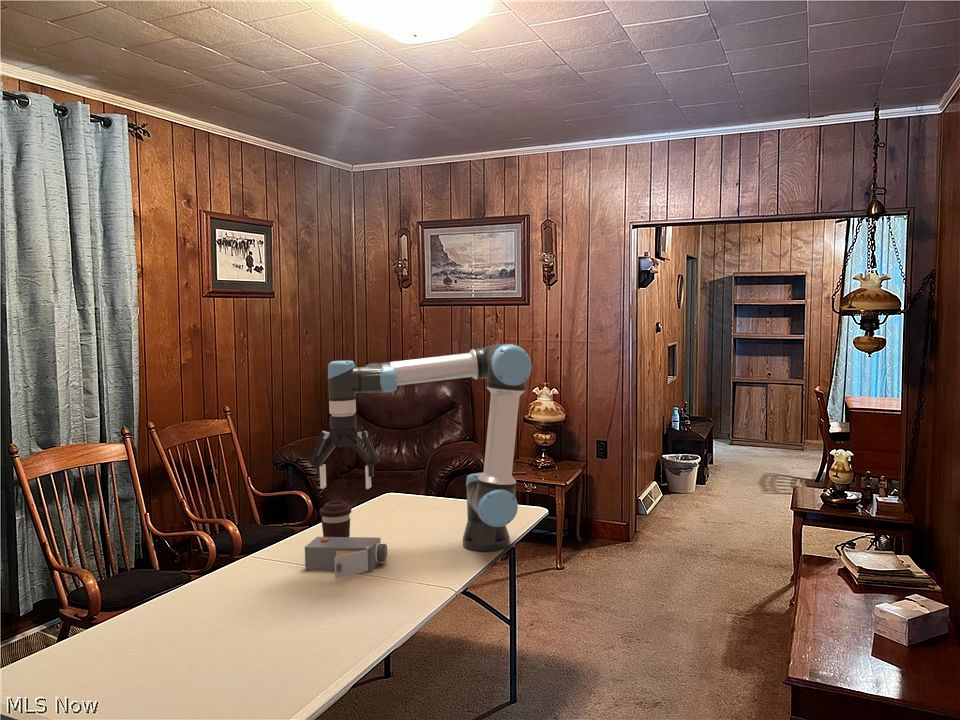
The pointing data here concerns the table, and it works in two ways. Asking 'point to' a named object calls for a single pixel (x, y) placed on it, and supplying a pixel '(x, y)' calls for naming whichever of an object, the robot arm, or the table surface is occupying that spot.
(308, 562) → the camera box
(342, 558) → the side door
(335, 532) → the coffee cup
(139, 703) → the table surface
